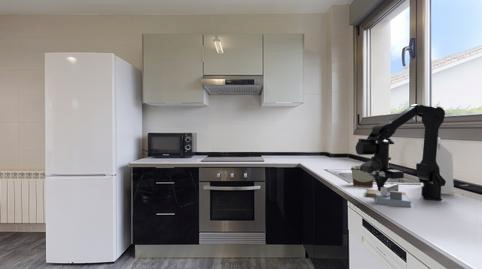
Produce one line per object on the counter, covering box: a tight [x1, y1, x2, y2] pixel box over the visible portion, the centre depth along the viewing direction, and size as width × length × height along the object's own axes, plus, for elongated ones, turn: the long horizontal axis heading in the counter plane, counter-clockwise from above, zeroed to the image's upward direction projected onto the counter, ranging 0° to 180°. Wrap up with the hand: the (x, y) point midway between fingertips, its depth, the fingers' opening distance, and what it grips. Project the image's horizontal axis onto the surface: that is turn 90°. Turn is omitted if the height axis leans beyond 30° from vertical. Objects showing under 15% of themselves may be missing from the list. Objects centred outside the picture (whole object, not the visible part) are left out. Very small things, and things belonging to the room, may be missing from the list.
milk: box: [420, 137, 455, 195], centre depth 139 cm, size 12×12×26 cm
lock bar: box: [381, 182, 400, 196], centre depth 122 cm, size 13×4×3 cm, turn 133°
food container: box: [350, 165, 375, 188], centre depth 151 cm, size 12×6×10 cm, turn 65°
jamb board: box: [365, 188, 407, 198], centre depth 128 cm, size 16×9×2 cm, turn 65°
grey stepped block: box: [375, 191, 412, 208], centre depth 117 cm, size 12×10×5 cm
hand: (379, 190), depth 121 cm, fingers closed
